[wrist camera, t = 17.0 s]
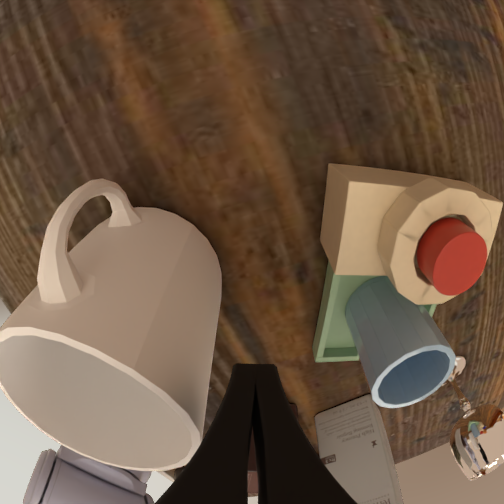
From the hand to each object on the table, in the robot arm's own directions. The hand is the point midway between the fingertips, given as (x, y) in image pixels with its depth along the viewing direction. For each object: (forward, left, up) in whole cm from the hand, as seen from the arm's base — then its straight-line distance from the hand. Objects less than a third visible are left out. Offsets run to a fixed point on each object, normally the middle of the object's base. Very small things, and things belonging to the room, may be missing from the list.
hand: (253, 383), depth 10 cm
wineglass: (-13, -20, -11) cm, 26 cm away
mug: (-1, +7, -11) cm, 13 cm away
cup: (-4, -9, -10) cm, 14 cm away
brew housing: (+3, -9, -10) cm, 14 cm away
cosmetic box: (-18, -10, -11) cm, 23 cm away
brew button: (+3, -9, -5) cm, 11 cm away
